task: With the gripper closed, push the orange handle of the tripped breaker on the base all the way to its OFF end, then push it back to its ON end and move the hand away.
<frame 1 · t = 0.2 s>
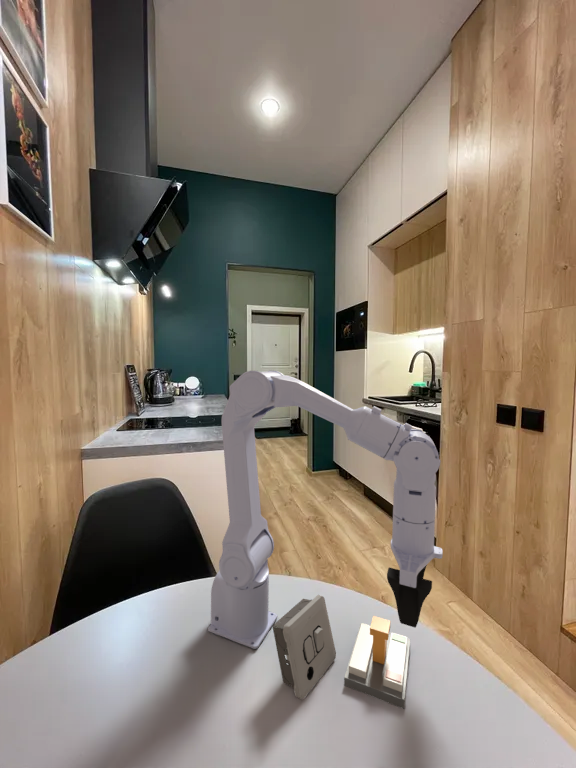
hand: (410, 606, 50), 10 cm above the table, tool pointing down, fingers open, 7 cm apart
breaker base: (379, 664, 51), on the table
breaker handle: (379, 640, 51), point 4 cm above the table, slide at 0.0 cm
electrical switch: (304, 671, 50), on the table
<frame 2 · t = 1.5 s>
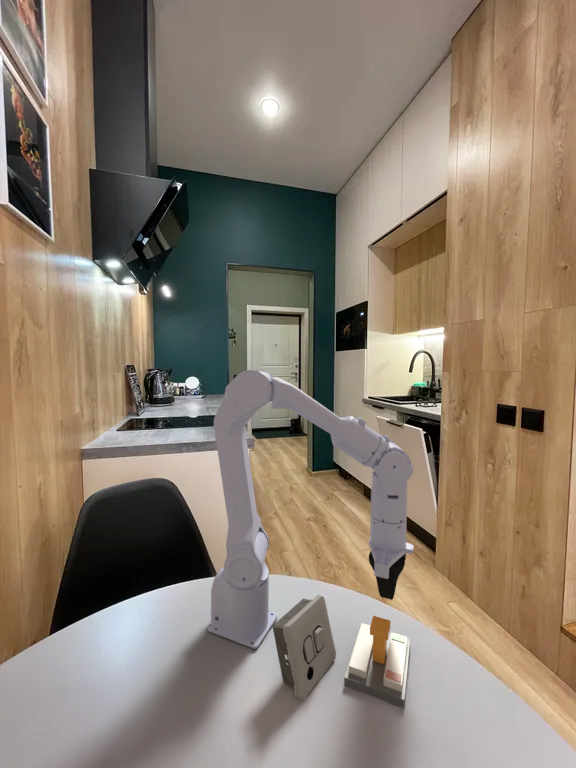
hand: (386, 595, 57), 7 cm above the table, tool pointing down, fingers closed
nothing on the table moved.
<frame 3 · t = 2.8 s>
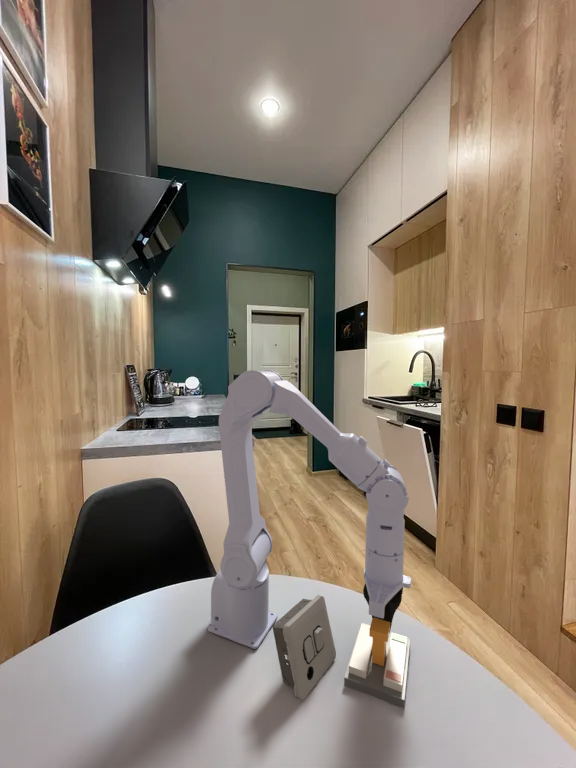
hand: (382, 631, 53), 3 cm above the table, tool pointing down, fingers closed
breaker handle: (379, 642, 51), point 4 cm above the table, slide at -0.4 cm, touching gripper
everything else where it was.
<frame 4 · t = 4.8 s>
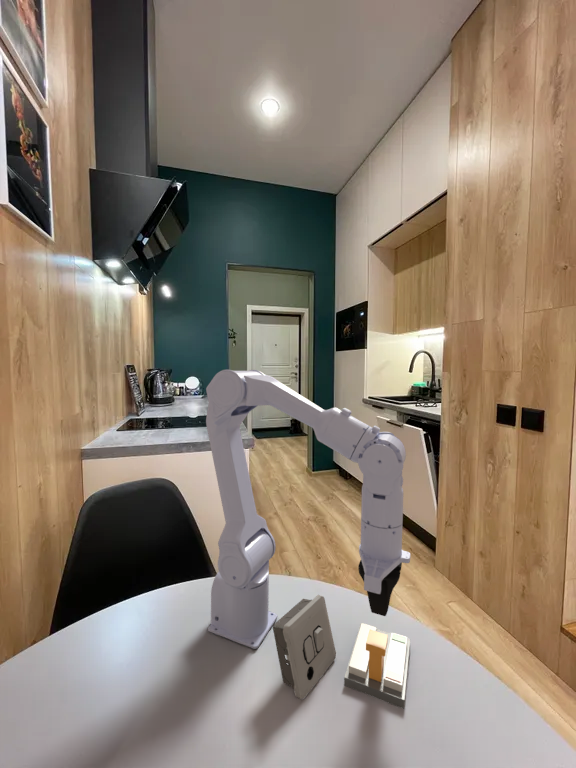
hand: (379, 611, 49), 9 cm above the table, tool pointing down, fingers closed
breaker handle: (376, 656, 48), point 4 cm above the table, slide at -3.1 cm
everything else where it was.
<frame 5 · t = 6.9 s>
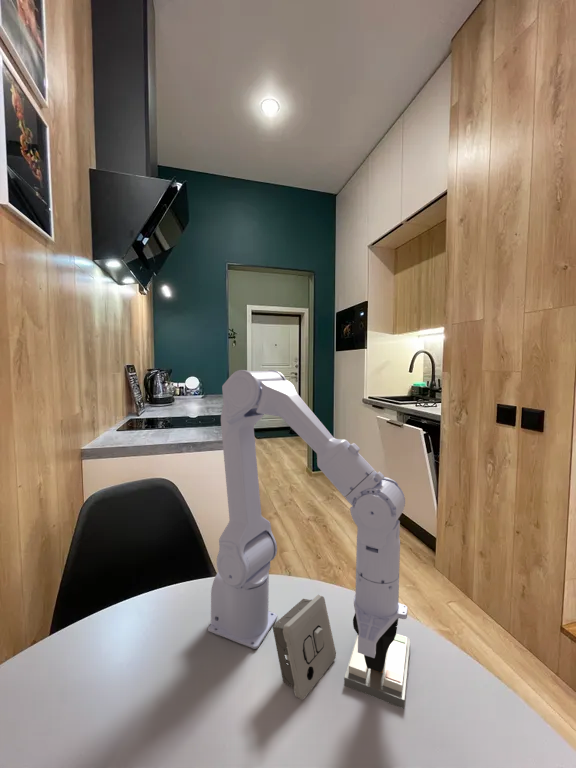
hand: (374, 666, 47), 3 cm above the table, tool pointing down, fingers closed
breaker handle: (378, 648, 50), point 4 cm above the table, slide at -1.5 cm, touching gripper
everything else where it was.
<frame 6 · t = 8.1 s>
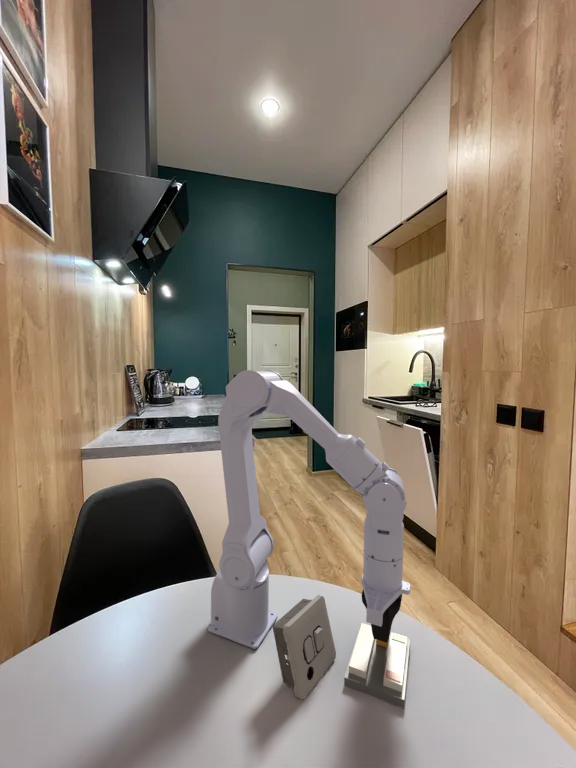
hand: (380, 638, 52), 3 cm above the table, tool pointing down, fingers closed
breaker handle: (383, 625, 54), point 4 cm above the table, slide at 3.3 cm, touching gripper
everything else where it was.
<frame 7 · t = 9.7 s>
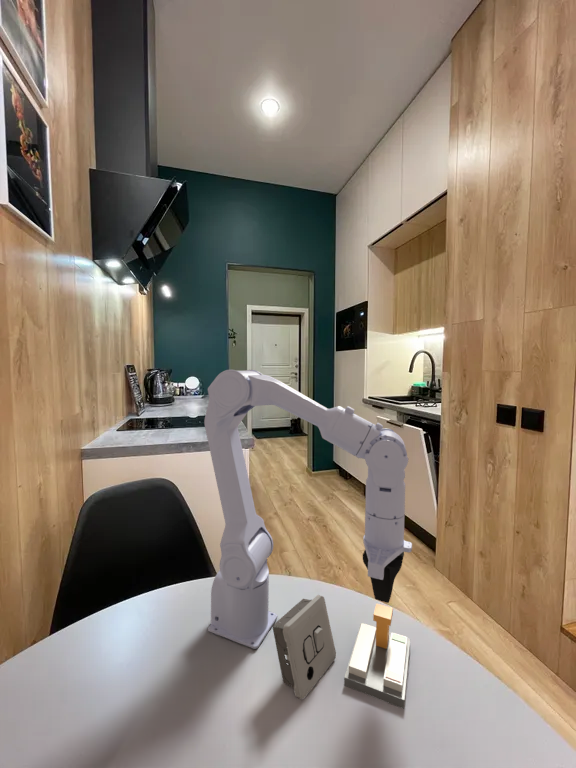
hand: (382, 598, 52), 9 cm above the table, tool pointing down, fingers closed
breaker handle: (382, 626, 54), point 4 cm above the table, slide at 3.1 cm
everything else where it was.
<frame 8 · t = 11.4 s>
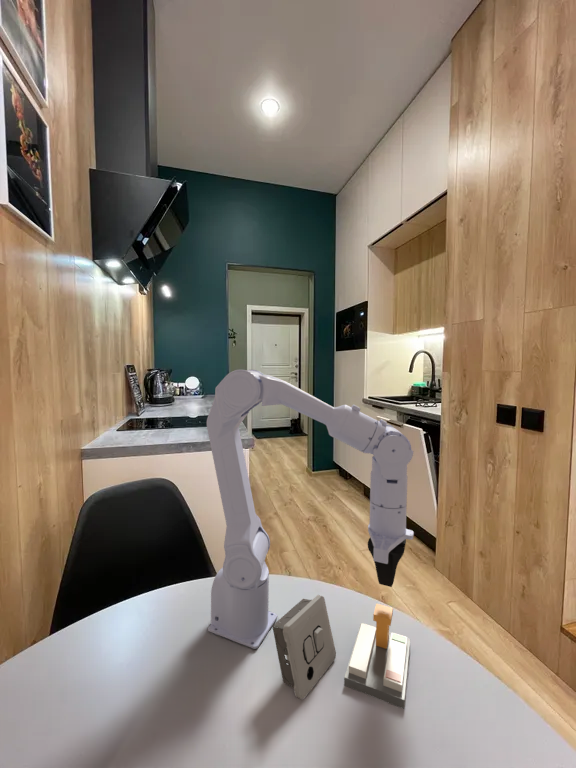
hand: (385, 583, 56), 9 cm above the table, tool pointing down, fingers closed
nothing on the table moved.
at the end: breaker handle slide at 3.1 cm; electrical switch moved 0.3 cm from its start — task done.
